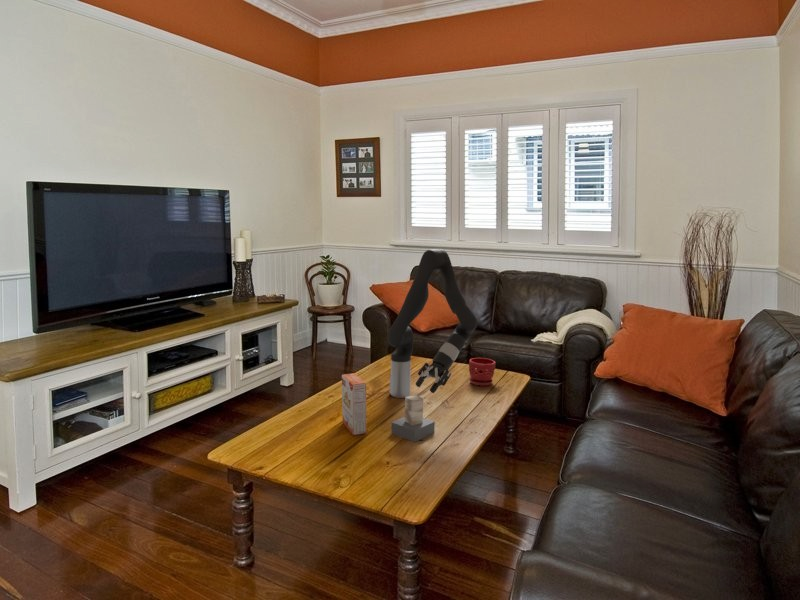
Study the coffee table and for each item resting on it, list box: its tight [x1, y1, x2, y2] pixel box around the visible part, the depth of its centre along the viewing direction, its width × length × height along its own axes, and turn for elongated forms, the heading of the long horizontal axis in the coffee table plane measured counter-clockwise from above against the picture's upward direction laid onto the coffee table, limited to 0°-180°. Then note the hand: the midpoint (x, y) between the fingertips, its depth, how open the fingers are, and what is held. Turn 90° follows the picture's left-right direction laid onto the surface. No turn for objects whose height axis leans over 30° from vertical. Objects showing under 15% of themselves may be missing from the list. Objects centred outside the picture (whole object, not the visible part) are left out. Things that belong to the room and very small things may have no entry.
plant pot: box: [468, 357, 496, 387], centre depth 276 cm, size 13×13×12 cm
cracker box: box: [341, 373, 367, 436], centre depth 217 cm, size 14×6×21 cm, turn 23°
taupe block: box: [404, 394, 424, 425], centre depth 213 cm, size 5×5×10 cm
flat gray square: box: [390, 416, 436, 443], centre depth 214 cm, size 12×12×5 cm
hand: (424, 389), depth 215 cm, fingers open, 8 cm apart
